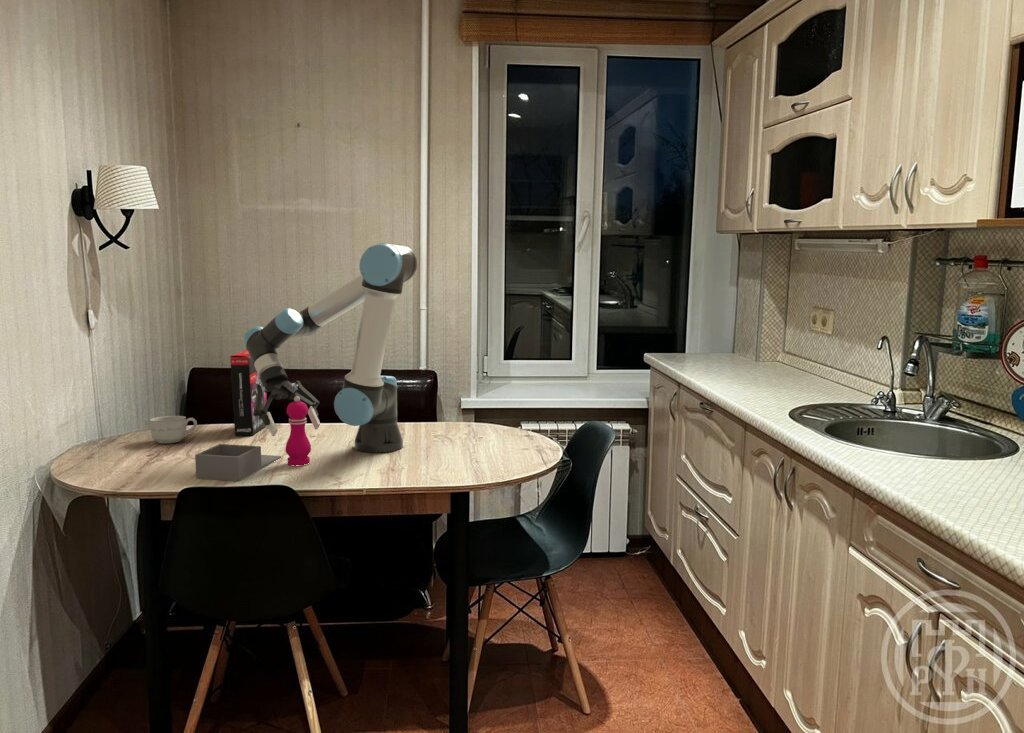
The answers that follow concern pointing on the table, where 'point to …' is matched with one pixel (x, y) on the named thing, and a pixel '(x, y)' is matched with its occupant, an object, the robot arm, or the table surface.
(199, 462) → the box
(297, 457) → the pepper mill
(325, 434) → the table surface
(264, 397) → the graphics card box
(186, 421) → the teacup
